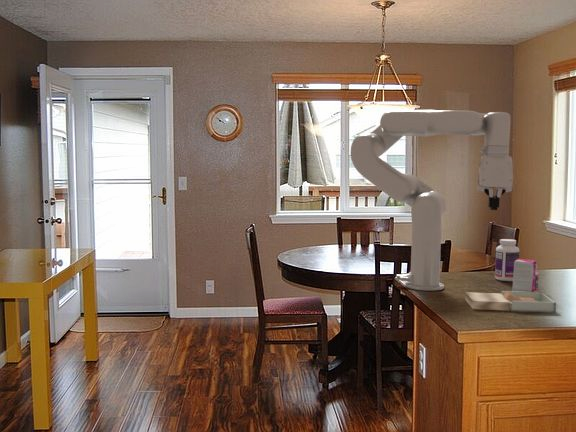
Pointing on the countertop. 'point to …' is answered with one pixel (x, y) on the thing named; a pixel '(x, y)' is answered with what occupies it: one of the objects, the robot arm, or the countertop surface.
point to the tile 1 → (510, 297)
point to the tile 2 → (526, 299)
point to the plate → (487, 301)
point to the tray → (532, 302)
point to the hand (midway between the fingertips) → (493, 209)
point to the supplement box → (524, 275)
